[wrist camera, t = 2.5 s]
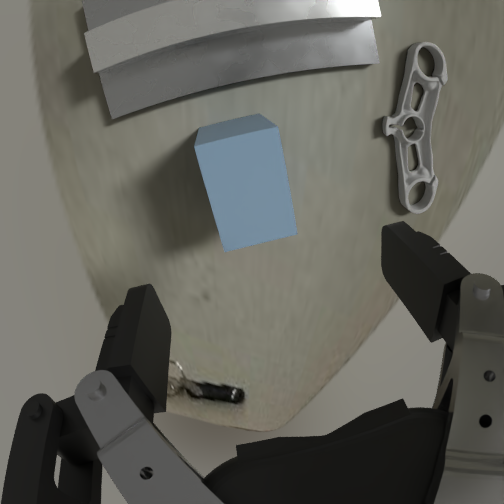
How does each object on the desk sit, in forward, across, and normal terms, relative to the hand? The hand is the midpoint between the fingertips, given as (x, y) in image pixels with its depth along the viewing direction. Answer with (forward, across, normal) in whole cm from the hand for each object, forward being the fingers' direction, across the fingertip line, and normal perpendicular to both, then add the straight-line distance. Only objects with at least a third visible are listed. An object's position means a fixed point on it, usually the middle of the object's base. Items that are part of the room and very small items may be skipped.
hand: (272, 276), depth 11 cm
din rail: (+15, -2, -11) cm, 19 cm away
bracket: (+16, -16, 0) cm, 22 cm away
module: (+15, 0, 0) cm, 15 cm away
